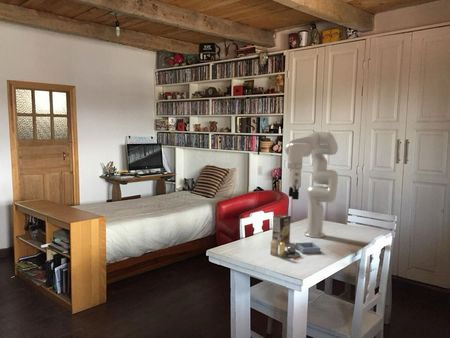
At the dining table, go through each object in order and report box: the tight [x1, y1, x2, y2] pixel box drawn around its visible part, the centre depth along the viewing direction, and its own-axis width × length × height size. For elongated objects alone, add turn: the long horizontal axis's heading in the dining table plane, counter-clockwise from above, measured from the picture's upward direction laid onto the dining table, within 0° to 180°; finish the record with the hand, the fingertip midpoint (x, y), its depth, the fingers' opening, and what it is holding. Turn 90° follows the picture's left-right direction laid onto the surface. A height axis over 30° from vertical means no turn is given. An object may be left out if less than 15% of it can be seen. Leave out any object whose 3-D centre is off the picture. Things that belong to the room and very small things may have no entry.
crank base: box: [284, 251, 301, 261], centre depth 205 cm, size 12×9×1 cm
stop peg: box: [269, 240, 279, 257], centre depth 206 cm, size 4×4×7 cm
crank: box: [278, 242, 297, 257], centre depth 203 cm, size 11×4×7 cm, turn 131°
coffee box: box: [271, 214, 292, 246], centre depth 227 cm, size 9×6×16 cm
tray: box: [295, 241, 321, 255], centre depth 214 cm, size 10×10×3 cm
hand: (293, 197), depth 208 cm, fingers open, 9 cm apart
